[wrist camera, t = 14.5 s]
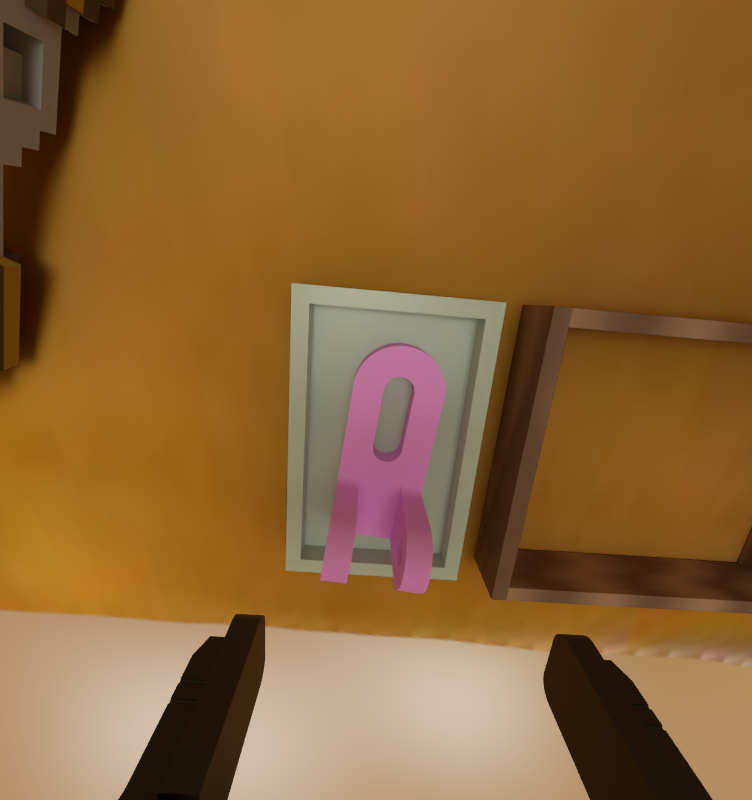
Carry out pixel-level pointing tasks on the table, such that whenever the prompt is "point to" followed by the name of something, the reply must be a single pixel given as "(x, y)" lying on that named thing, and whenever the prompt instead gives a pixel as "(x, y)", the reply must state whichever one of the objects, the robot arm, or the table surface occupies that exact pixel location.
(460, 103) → the table surface
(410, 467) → the bracket
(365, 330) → the tray
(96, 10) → the toy
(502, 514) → the crate
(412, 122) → the table surface
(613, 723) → the robot arm
